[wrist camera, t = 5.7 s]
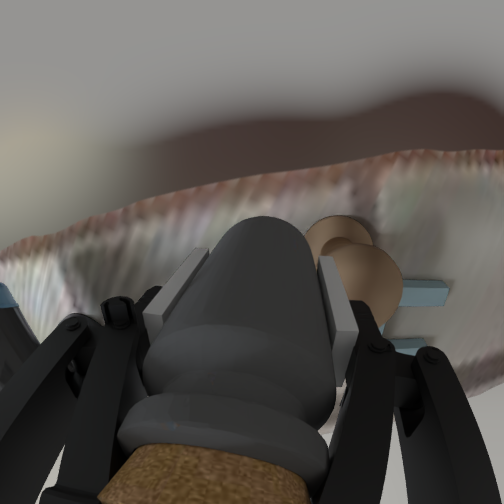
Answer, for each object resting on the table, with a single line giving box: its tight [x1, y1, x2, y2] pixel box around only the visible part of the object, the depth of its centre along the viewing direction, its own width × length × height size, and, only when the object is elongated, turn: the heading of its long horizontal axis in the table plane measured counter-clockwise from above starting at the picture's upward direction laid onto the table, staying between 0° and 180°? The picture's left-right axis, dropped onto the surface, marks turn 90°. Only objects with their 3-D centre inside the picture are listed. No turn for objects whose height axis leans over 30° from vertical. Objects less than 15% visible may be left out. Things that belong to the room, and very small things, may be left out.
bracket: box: [379, 280, 450, 356], centre depth 36 cm, size 12×13×2 cm
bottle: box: [97, 216, 336, 504], centre depth 10 cm, size 6×6×15 cm
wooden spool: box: [304, 215, 403, 328], centre depth 29 cm, size 9×9×11 cm
